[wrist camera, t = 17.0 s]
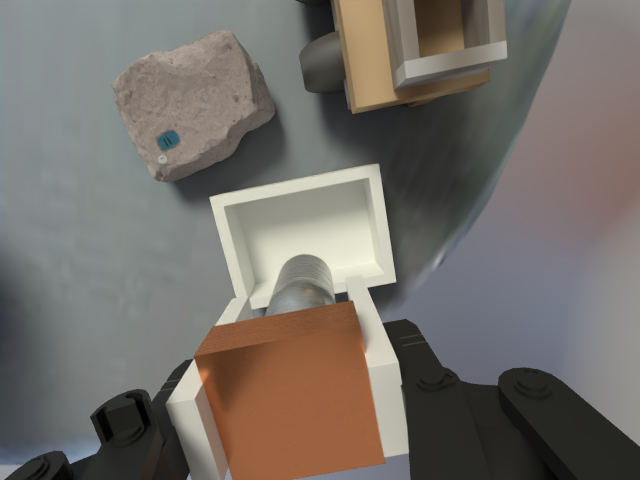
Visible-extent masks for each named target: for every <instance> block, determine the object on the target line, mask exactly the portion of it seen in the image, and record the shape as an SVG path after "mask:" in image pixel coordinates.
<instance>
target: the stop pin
mask: <svg viewBox="0 0 640 480" xmlns="http://www.w3.org/2000/svg"><path fill="white" fill-rule="evenodd" d="M194 359H195V362H196V366H197V369H198V372H199V375H200V378H201V381H202V383H203V385H204V388H205V392H206V395H207V398H208V401H209V404H210V407H211V411H212V414H213V417H214V420H215V423H216V426H217V430H218V433H219V436H220V439H221V442H222V446H223V449H224V452H225V455H226V458H227V461H228V467H229V470H230V473H231V476H232V479H233V480H293V479H298V478H304V477H310V476H315V475H321V474H327V473H333V472H338V471H344V470H350V469H356V468H361V467H368V466H373V465H379V464H385V458H384V453H383V449H382V445H381V441H380V436H379V431H378V425H377V420H376V414H375V409H374V403H373V398H372V392H371V387H370V381H369V376H368V370H367V365H366V359H365V348H364V343H363V337H362V332H361V326H360V323H359V319H358V316H357V312H356V309H355V305H354V302H353V300H351V301H345V302H340V303H336V299H335V292H334V286H333V280H332V274H331V271H330V269H329V267H328V265H327V264H326V263H325V262H324V261H323V260H322V259H320V258H319V257H317V256H314V255H310V254H301V255H297V256H294V257H292V258H290V259H289V260H288V261H287V262H285V264H284V265H283V266H282V268H281V270H280V273H279V276H278V279H277V282H276V285H275V287H274V290H273V293H272V296H271V299H270V302H269V305H268V308H267V311H266V314H265V317H260V318H255V319H249V320H244V321H239V322H234V323H228V324H223V325H218V326H213V327H212V328H211V330H210V331H209V333H208V335H207V336H206V338H205V339H204V341H203V342H202V344H201V345H200V347H199V348H198V350H197V352H196V353H195V355H194Z"/></svg>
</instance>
